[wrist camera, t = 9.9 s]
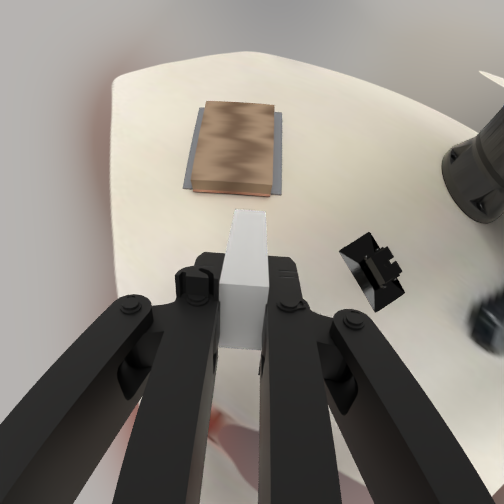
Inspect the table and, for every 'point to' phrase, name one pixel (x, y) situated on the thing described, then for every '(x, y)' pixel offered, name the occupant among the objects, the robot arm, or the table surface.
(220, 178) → the mottled brown tile
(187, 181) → the felt mat
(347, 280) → the table surface
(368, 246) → the black notched bracket mount
